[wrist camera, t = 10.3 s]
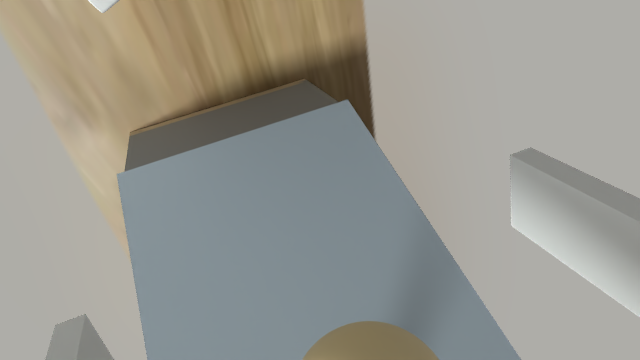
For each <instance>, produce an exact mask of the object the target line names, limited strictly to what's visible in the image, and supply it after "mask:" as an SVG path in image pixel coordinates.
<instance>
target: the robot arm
mask: <svg viewBox="0 0 640 360" xmlns="http://www.w3.org/2000/svg"><path fill="white" fill-rule="evenodd" d="M510 175H511V176H510V177H511V178H510V180H511V226H512V227H514V228H515V229H516V230H518V231H520V232H521V233H522V234H523V235H525V236H526V237H528V238H529V239H530V240H532V241H533V242H535V243H536V244H537V245H539V246H540V247H542V248H543V249H544V250H546V251H547V252H549V253H550V254H552V255H553V256H554V257H556V258H557V259H558V260H560V261H561V262H563V263H564V264H565V265H567V266H568V267H570V268H571V269H573V270H574V271H575V272H577V273H578V274H580V275H581V276H582V277H584V278H585V279H586V280H588V281H589V282H591V283H592V284H593V285H595V286H597V287H598V288H599V289H601V290H602V291H603V292H605V293H606V294H608V295H609V296H610V297H612V298H613V299H615V300H616V301H617V302H619V303H620V304H622V305H623V306H625V307H626V308H627V309H629V310H630V311H631V312H633V313H634V314H636V315H637V316H638V317H640V199H639V198H637V197H635V196H633V195H631V194H629V193H627V192H625V191H623V190H620V189H618V188H616V187H614V186H612V185H610V184H608V183H605V182H603V181H601V180H599V179H597V178H595V177H593V176H590V175H588V174H586V173H584V172H582V171H580V170H578V169H576V168H573V167H571V166H569V165H567V164H565V163H563V162H561V161H558V160H556V159H554V158H552V157H550V156H548V155H545V154H543V153H541V152H539V151H537V150H535V149H533V148H528V149H525V150H523V151H520V152H517V153H514V154H512V155H510ZM46 360H114V359H113V357H112V356H111V354H110V352H109V351H108V349H107V348H106V346H105V344H104V343H103V341H102V340H101V338H100V337H99V335H98V333H97V332H96V330H95V328H94V327H93V325H92V324H91V322H90V320H89V319H88V317H87V316H86V314H84V315H81V316H78V317H76V318H73V319H70V320H68V321H65V322H62V323H60V324H57V325H55V328H54V331H53V335H52V339H51V342H50V346H49V350H48V353H47V356H46Z"/></svg>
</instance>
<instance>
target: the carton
mask: <svg viewBox="0 0 640 360" xmlns="http://www.w3.org/2000/svg"><path fill="white" fill-rule="evenodd" d="M335 103H338V101H337V100H335V99H334V98H332V97H331V96H329V95H328V94H326V93H325V92H323V91H322V90H321V89H319V88H318V87H316V86H315V85H313V84H312V83H310V82H309V81H307V80H306V79H302V80H299V81H296V82H292V83H289V84H286V85H283V86H279V87H276V88H273V89H270V90H266V91H263V92H260V93H257V94H253V95H250V96H247V97H244V98H240V99H237V100H234V101H231V102H228V103H224V104H221V105H218V106H215V107H211V108H208V109H205V110H202V111H198V112H195V113H192V114H189V115H185V116H182V117H179V118H176V119H172V120H169V121H166V122H163V123H159V124H156V125H153V126H150V127H146V128H143V129H140V130H137V131H133V132H130V137H129V144H128V151H127V158H126V165H125V171H128V170H131V169H134V168H138V167H141V166H144V165H147V164H150V163H153V162H156V161H159V160H162V159H165V158H168V157H171V156H175V155H178V154H181V153H184V152H187V151H190V150H193V149H196V148H199V147H202V146H205V145H209V144H212V143H215V142H218V141H221V140H224V139H227V138H230V137H233V136H236V135H239V134H242V133H246V132H249V131H252V130H255V129H258V128H261V127H264V126H267V125H270V124H273V123H276V122H280V121H283V120H286V119H289V118H292V117H295V116H298V115H301V114H304V113H307V112H310V111H314V110H317V109H320V108H323V107H326V106H329V105H332V104H335Z"/></svg>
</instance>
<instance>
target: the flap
mask: <svg viewBox="0 0 640 360" xmlns="http://www.w3.org/2000/svg"><path fill="white" fill-rule="evenodd" d="M117 178H118V184H119V191H120V197H121V203H122V209H123V215H124V221H125V227H126V233H127V239H128V245H129V251H130V257H131V263H132V269H133V275H134V281H135V287H136V293H137V299H138V305H139V311H140V317H141V323H142V329H143V335H144V341H145V348H146V354H147V360H521V359H520V357H519V356H518V354H517V353H516V351H515V350H514V348H513V347H512V346H511V344H510V342H509V341H508V339H507V338H506V336H505V335H504V333H503V332H502V330H501V329H500V327H499V326H498V325H497V323H496V321H495V320H494V318H493V317H492V316H491V314H490V312H489V311H488V309H487V308H486V306H485V305H484V303H483V302H482V300H481V299H480V297H479V296H478V295H477V293H476V291H475V290H474V288H473V287H472V285H471V284H470V282H469V281H468V279H467V278H466V276H465V275H464V273H463V272H462V271H461V269H460V267H459V266H458V264H457V263H456V261H455V260H454V258H453V257H452V255H451V254H450V252H449V251H448V249H447V248H446V246H445V245H444V244H443V242H442V240H441V239H440V237H439V236H438V234H437V233H436V231H435V230H434V228H433V227H432V225H431V224H430V222H429V221H428V219H427V218H426V216H425V215H424V213H423V212H422V210H421V209H420V207H419V206H418V204H417V203H416V201H415V200H414V198H413V197H412V195H411V194H410V192H409V191H408V190H407V188H406V186H405V185H404V183H403V182H402V180H401V179H400V177H399V176H398V174H397V173H396V171H395V170H394V168H393V167H392V165H391V164H390V162H389V161H388V159H387V158H386V156H385V155H384V153H383V152H382V150H381V149H380V147H379V146H378V144H377V143H376V141H375V140H374V138H373V137H372V135H371V134H370V132H369V131H368V129H367V128H366V126H365V125H364V123H363V122H362V120H361V119H360V117H359V116H358V114H357V113H356V111H355V110H354V108H353V107H352V105H351V104H350V102H349V101H348V99H347V100H344V101H341V102H338V103H335V104H332V105H329V106H326V107H323V108H320V109H317V110H314V111H310V112H307V113H304V114H301V115H298V116H295V117H292V118H289V119H286V120H283V121H280V122H276V123H273V124H270V125H267V126H264V127H261V128H258V129H255V130H252V131H249V132H246V133H242V134H239V135H236V136H233V137H230V138H227V139H224V140H221V141H218V142H215V143H212V144H209V145H205V146H202V147H199V148H196V149H193V150H190V151H187V152H184V153H181V154H178V155H175V156H171V157H168V158H165V159H162V160H159V161H156V162H153V163H150V164H147V165H144V166H141V167H138V168H134V169H131V170H128V171H125V172H122V173H119V174H117Z"/></svg>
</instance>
